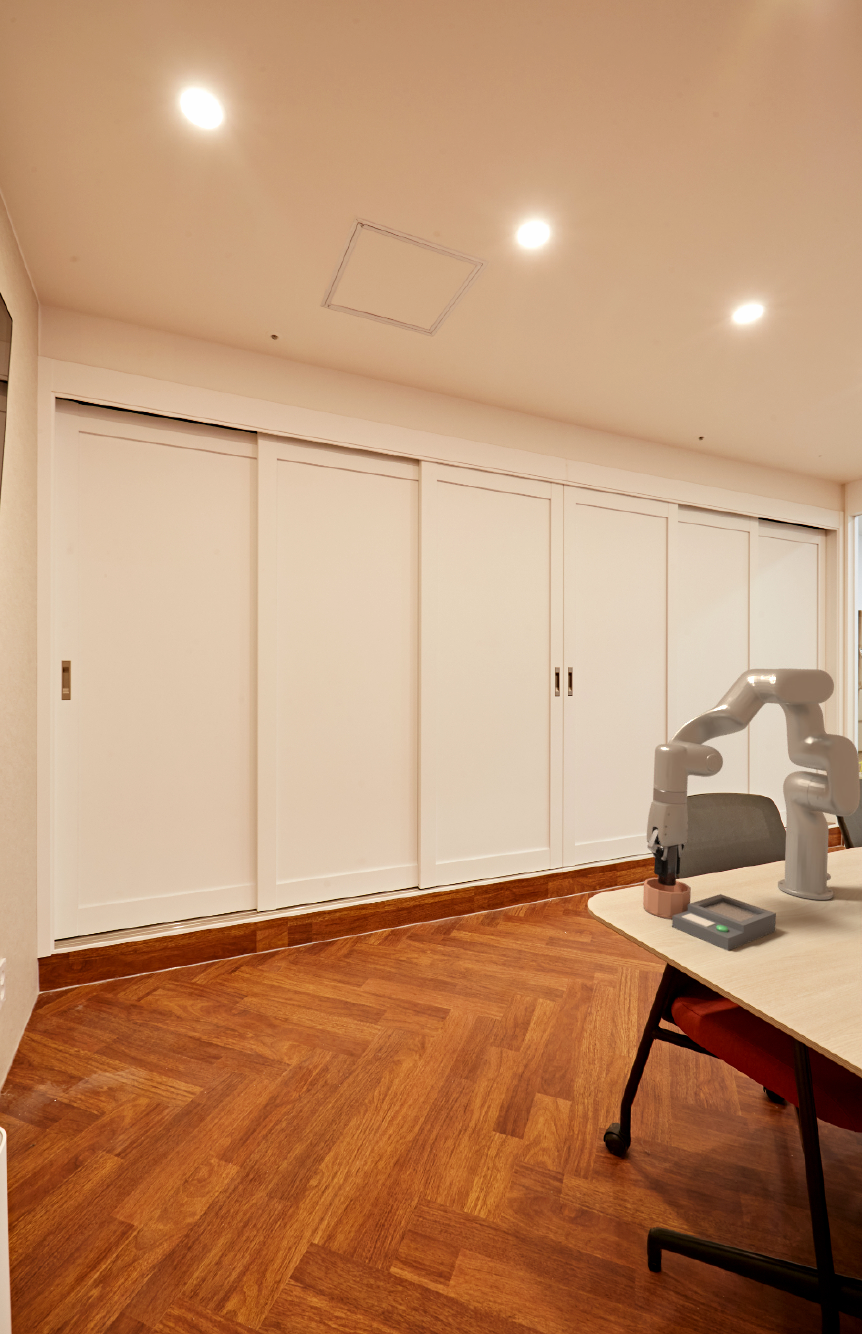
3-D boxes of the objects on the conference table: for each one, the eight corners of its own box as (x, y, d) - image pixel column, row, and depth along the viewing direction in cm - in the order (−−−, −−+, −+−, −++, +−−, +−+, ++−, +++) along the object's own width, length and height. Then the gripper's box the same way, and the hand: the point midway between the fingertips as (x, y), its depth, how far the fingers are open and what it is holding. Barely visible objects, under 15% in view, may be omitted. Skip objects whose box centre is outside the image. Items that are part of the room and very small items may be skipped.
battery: (664, 878, 149) (666, 837, 149) (679, 884, 145) (681, 841, 145) (654, 881, 146) (655, 839, 146) (668, 886, 143) (670, 844, 143)
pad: (723, 905, 144) (723, 901, 144) (762, 919, 137) (762, 915, 137) (700, 913, 139) (700, 909, 139) (739, 928, 132) (739, 924, 132)
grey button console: (719, 910, 147) (720, 894, 147) (775, 931, 136) (775, 913, 136) (672, 926, 137) (672, 908, 137) (727, 950, 126) (728, 930, 126)
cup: (661, 899, 153) (662, 875, 153) (698, 913, 145) (699, 888, 145) (634, 907, 147) (635, 882, 147) (672, 922, 139) (672, 896, 139)
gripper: (677, 791, 154) (674, 864, 154) (633, 796, 144) (630, 874, 144) (705, 797, 147) (702, 873, 147) (661, 803, 138) (658, 884, 138)
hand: (666, 873), depth 146 cm, fingers closed on battery, 4 cm apart
